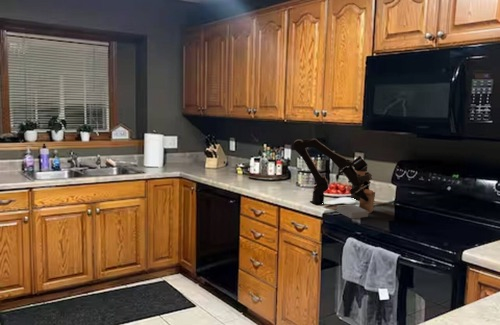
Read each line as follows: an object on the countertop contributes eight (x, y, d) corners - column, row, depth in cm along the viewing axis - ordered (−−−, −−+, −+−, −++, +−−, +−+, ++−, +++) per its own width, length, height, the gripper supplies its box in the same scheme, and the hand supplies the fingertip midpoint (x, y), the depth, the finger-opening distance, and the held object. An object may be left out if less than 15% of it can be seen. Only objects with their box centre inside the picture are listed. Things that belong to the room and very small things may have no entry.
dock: (336, 211, 236) (337, 206, 235) (352, 209, 241) (353, 204, 240) (351, 218, 225) (351, 212, 225) (367, 216, 230) (368, 211, 230)
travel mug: (354, 196, 269) (358, 164, 265) (365, 199, 264) (369, 166, 260) (348, 198, 264) (351, 165, 260) (359, 201, 259) (363, 168, 255)
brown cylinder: (358, 210, 239) (360, 192, 237) (362, 208, 244) (364, 190, 242) (369, 213, 236) (371, 194, 234) (372, 210, 241) (375, 192, 239)
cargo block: (362, 195, 238) (363, 190, 238) (365, 194, 241) (365, 189, 241) (370, 197, 236) (370, 191, 235) (372, 195, 239) (373, 190, 239)
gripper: (358, 170, 230) (376, 195, 227) (369, 165, 246) (386, 188, 242) (342, 182, 236) (359, 206, 232) (353, 176, 251) (370, 199, 248)
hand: (369, 199), depth 238 cm, fingers closed on brown cylinder, 6 cm apart
